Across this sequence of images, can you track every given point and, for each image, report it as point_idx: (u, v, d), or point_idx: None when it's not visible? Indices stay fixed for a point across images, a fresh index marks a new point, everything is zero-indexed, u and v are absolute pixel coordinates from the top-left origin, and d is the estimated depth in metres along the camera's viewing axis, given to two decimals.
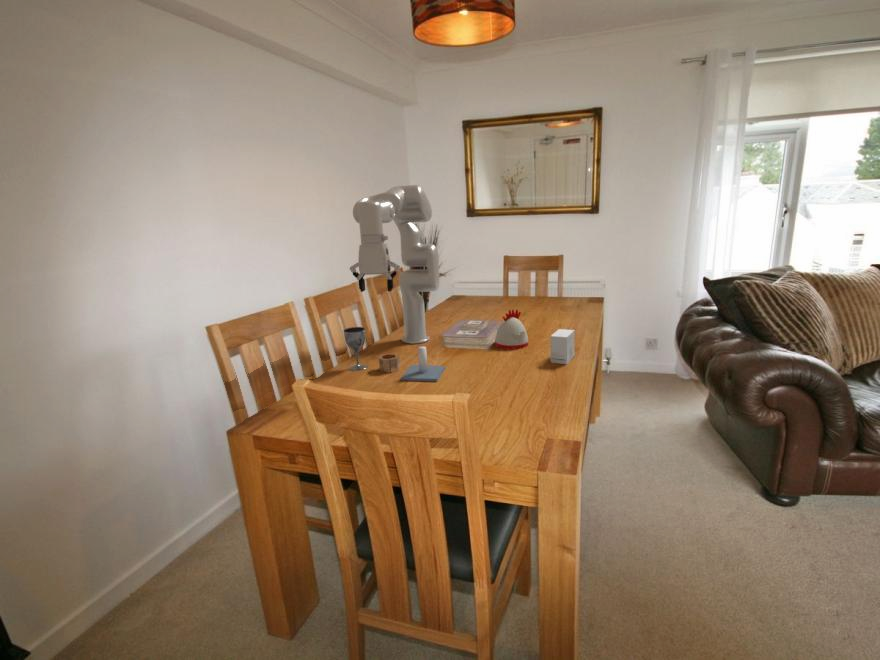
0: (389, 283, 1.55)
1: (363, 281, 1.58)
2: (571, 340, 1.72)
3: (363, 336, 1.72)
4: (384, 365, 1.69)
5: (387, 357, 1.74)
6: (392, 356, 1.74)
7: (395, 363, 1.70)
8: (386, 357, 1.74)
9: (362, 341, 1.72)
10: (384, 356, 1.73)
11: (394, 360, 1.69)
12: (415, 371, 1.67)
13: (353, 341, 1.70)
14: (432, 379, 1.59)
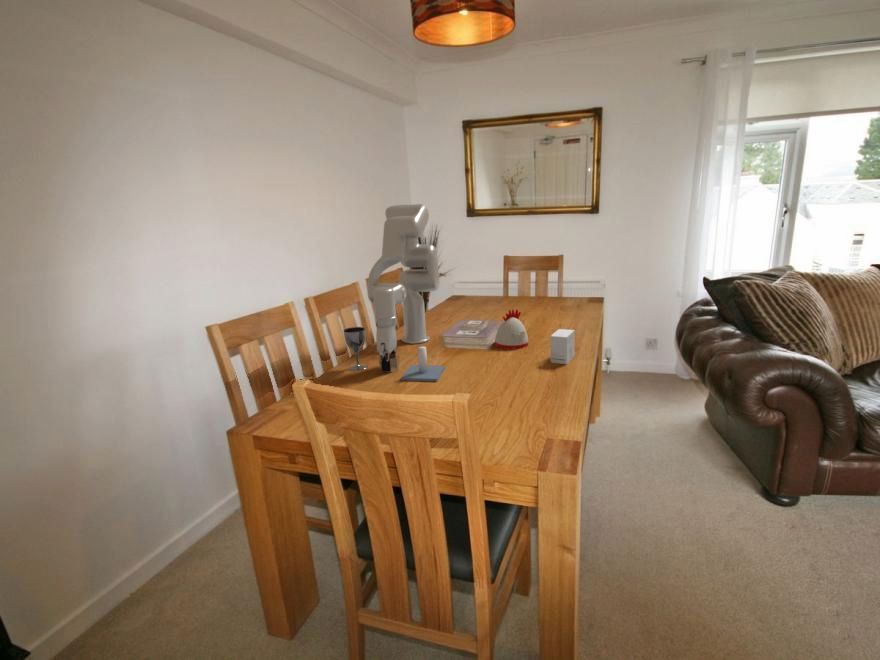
0: None
1: None
2: (571, 340, 1.72)
3: (363, 336, 1.72)
4: None
5: None
6: (392, 356, 1.74)
7: (395, 363, 1.70)
8: None
9: (362, 341, 1.72)
10: None
11: (394, 360, 1.69)
12: (415, 371, 1.67)
13: (353, 341, 1.70)
14: (432, 379, 1.59)
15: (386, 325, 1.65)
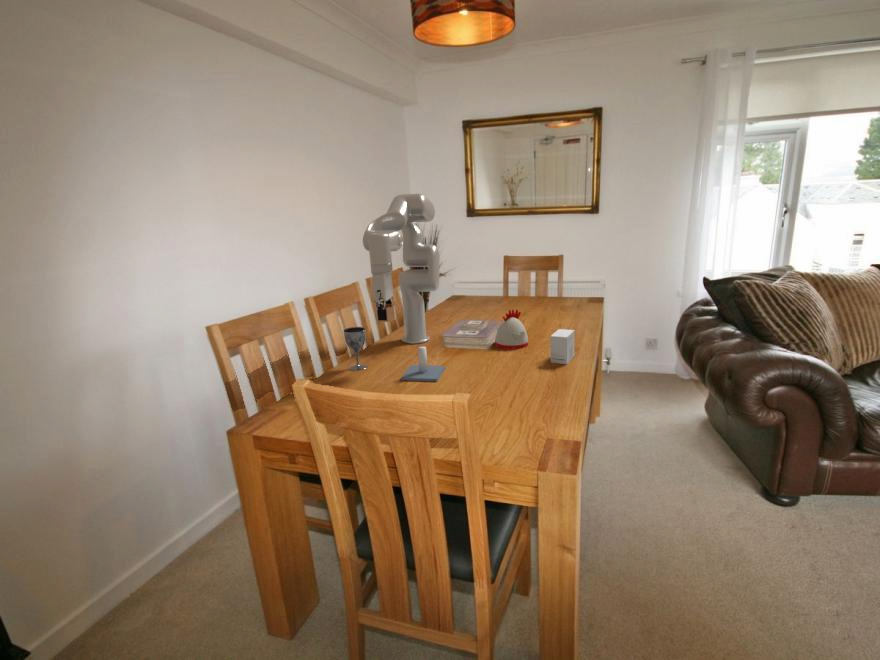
0: None
1: None
2: (571, 340, 1.72)
3: (363, 336, 1.72)
4: None
5: None
6: (388, 306, 1.69)
7: (391, 312, 1.65)
8: None
9: (362, 341, 1.72)
10: None
11: (390, 309, 1.64)
12: (415, 371, 1.67)
13: (353, 341, 1.70)
14: (432, 379, 1.59)
15: (382, 271, 1.60)
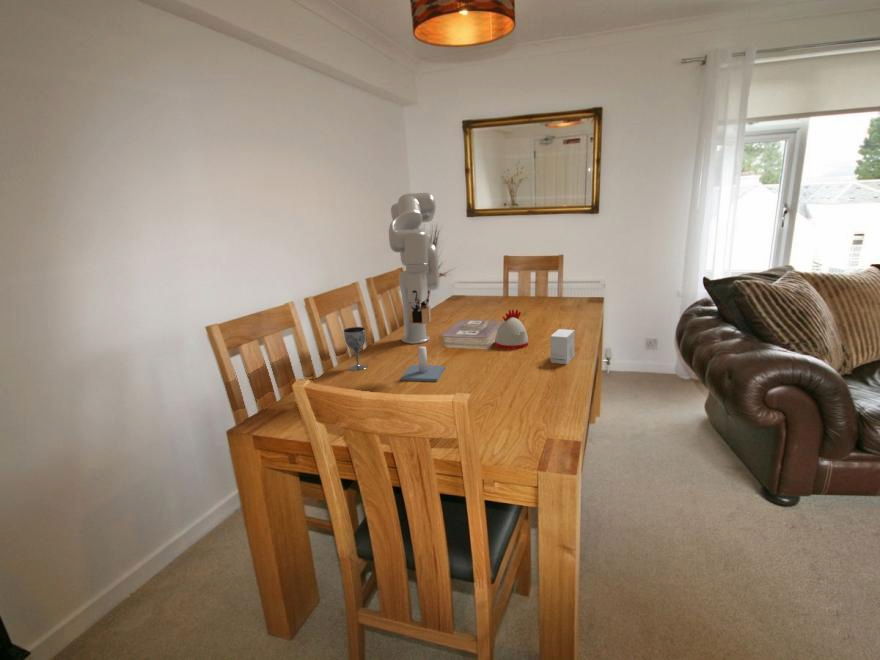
0: None
1: None
2: (571, 340, 1.72)
3: (363, 336, 1.72)
4: None
5: None
6: (423, 308, 1.62)
7: (427, 314, 1.58)
8: None
9: (362, 341, 1.72)
10: None
11: (426, 310, 1.57)
12: (415, 371, 1.67)
13: (353, 341, 1.70)
14: (432, 379, 1.59)
15: (418, 271, 1.53)
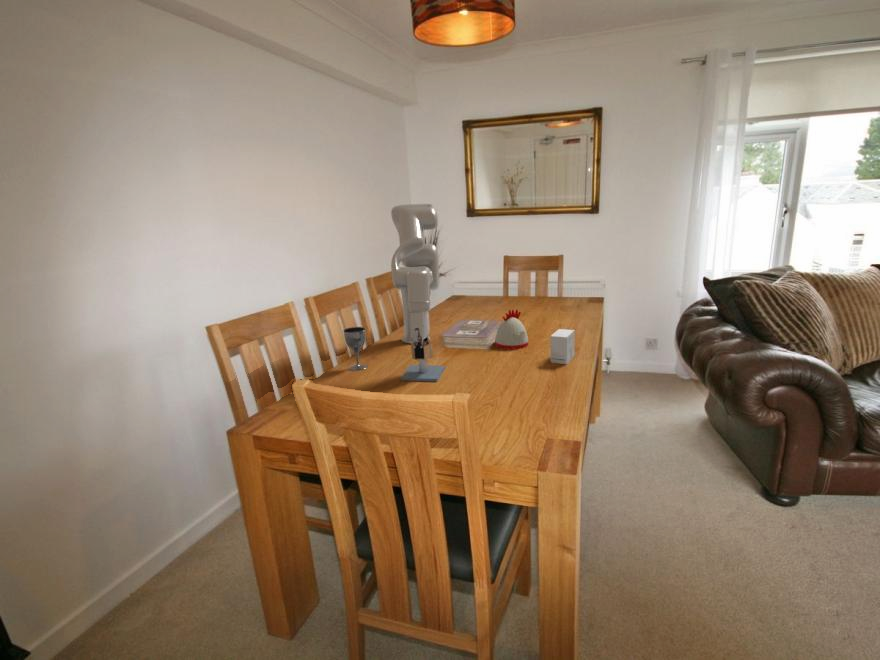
0: None
1: None
2: (571, 340, 1.72)
3: (363, 336, 1.72)
4: None
5: None
6: (425, 343, 1.65)
7: (429, 350, 1.61)
8: None
9: (362, 341, 1.72)
10: None
11: (428, 347, 1.60)
12: (415, 371, 1.67)
13: (353, 341, 1.70)
14: (432, 379, 1.59)
15: (420, 309, 1.56)
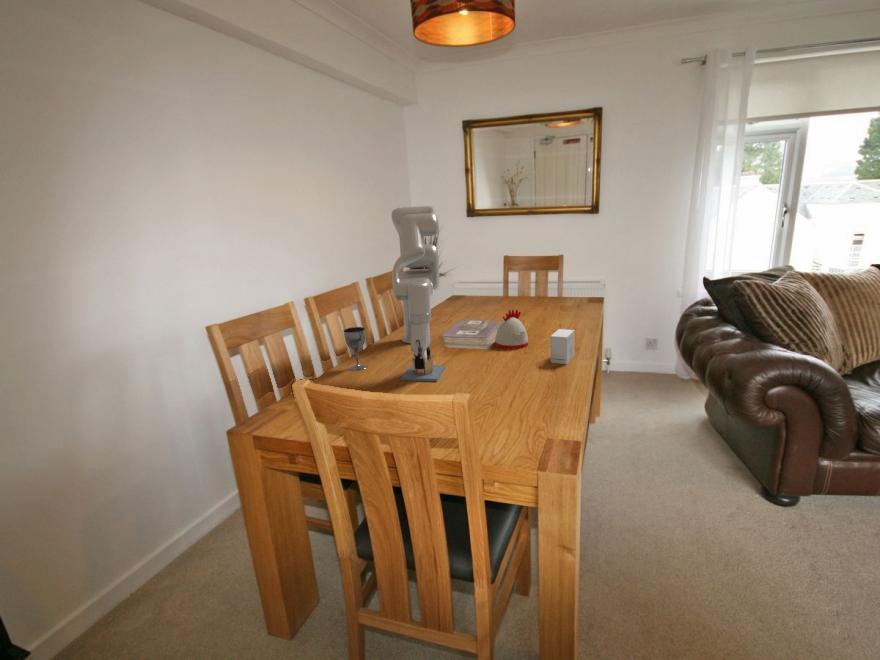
0: None
1: None
2: (571, 340, 1.72)
3: (363, 336, 1.72)
4: None
5: None
6: None
7: (430, 365, 1.63)
8: None
9: (362, 341, 1.72)
10: None
11: (429, 362, 1.62)
12: None
13: (353, 341, 1.70)
14: (432, 379, 1.59)
15: (421, 321, 1.57)
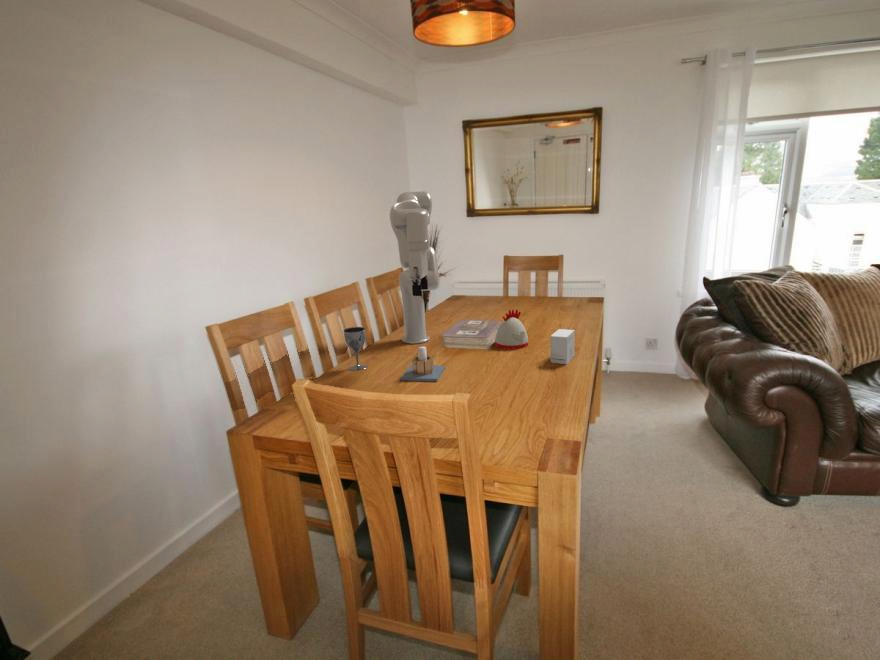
0: None
1: None
2: (571, 340, 1.72)
3: (363, 336, 1.72)
4: (418, 367, 1.62)
5: None
6: None
7: (430, 365, 1.63)
8: None
9: (362, 341, 1.72)
10: (417, 358, 1.66)
11: (429, 362, 1.62)
12: None
13: (353, 341, 1.70)
14: (432, 379, 1.59)
15: (419, 249, 1.63)
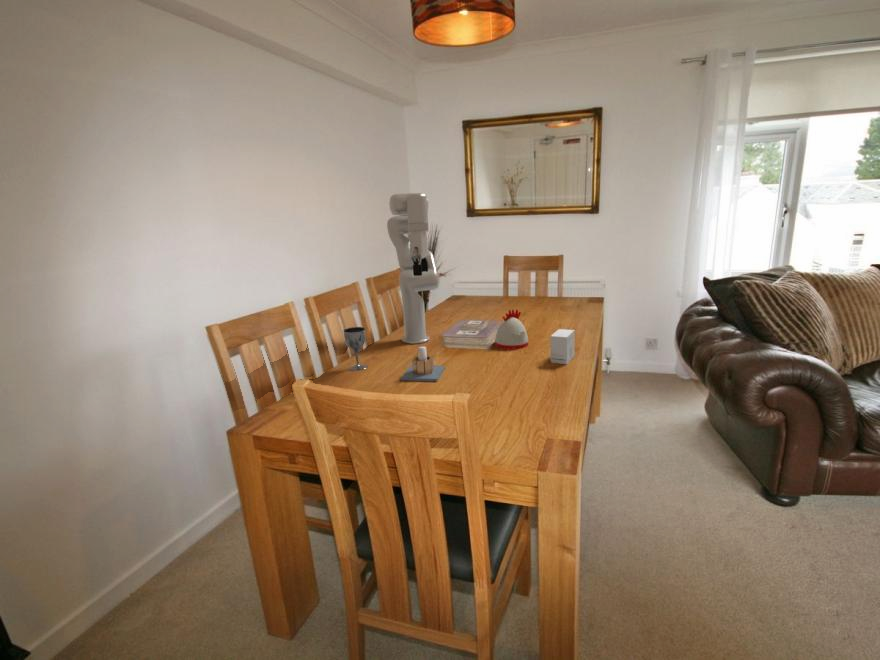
0: None
1: None
2: (571, 340, 1.72)
3: (363, 336, 1.72)
4: (418, 367, 1.62)
5: None
6: None
7: (430, 365, 1.63)
8: None
9: (362, 341, 1.72)
10: (417, 358, 1.66)
11: (429, 362, 1.62)
12: None
13: (353, 341, 1.70)
14: (432, 379, 1.59)
15: (419, 229, 1.69)
